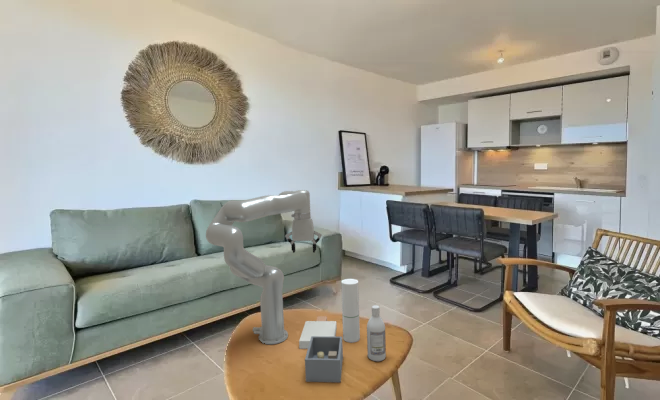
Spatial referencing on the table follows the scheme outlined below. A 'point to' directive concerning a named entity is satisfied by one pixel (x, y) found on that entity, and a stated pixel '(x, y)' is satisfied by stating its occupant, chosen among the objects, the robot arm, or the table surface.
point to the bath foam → (376, 336)
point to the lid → (316, 330)
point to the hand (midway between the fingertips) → (304, 252)
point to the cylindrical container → (350, 310)
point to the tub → (324, 359)
